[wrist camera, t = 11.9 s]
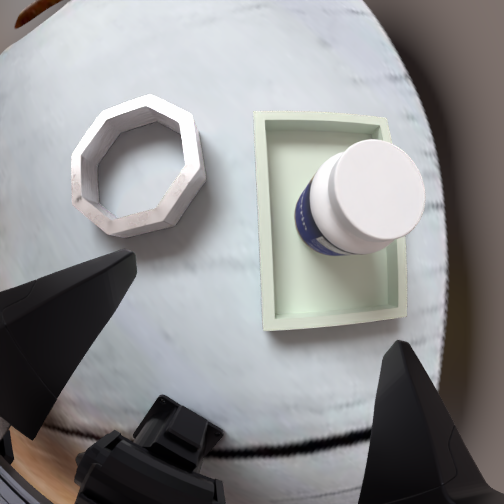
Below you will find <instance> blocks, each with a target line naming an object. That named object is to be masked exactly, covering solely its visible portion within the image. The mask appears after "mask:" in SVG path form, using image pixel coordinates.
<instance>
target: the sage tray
mask: <svg viewBox="0 0 504 504" xmlns="http://www.w3.org/2000/svg"><path fill="white" fill-rule="evenodd" d="M253 127H254V146H255V166H256V187H257V208H258V230H259V253H260V277H261V302H262V325H263V331H276V330H292V329H306V328H318V327H329V326H339V325H348V324H357V323H365V322H373V321H381V320H388V319H395V318H401V317H407V262H406V243H405V236H403V237H401V238H399V239H395V240H394V241H393V242H392V243H391V244H390V245H388V246H387V247H385V248H384V249H382V250H380V251H377V252H374V253H370V254H363V255H343V256H329V255H323V254H320V253H317V252H315V251H313V250H312V249H310V248H309V247H308V246H307V245H306V244H305V243H304V242H303V241H302V240H301V238H300V236H299V235H298V233H297V230H296V227H295V222H294V210H295V206H296V203H297V201H298V199H299V197H300V195H301V194H302V192H303V191H304V189H305V188H306V186H307V185H308V183H309V182H310V180H311V179H312V177H313V176H314V174H315V173H316V171H317V170H318V169H319V168H320V166H321V165H322V164H323V163H324V162H325V161H327V160H328V159H329V158H331V157H332V156H334V155H336V154H338V153H341V152H345V151H346V150H347V149H348V148H349V147H350V146H352V145H353V144H355V143H357V142H360V141H363V140H369V139H376V140H382V141H386V142H389V143H391V144H392V140H391V135H390V131H389V126H388V122H387V118H382V117H375V116H366V115H356V114H345V113H331V112H311V111H253Z"/></svg>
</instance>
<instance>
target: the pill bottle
mask: <svg viewBox="0 0 504 504" xmlns="http://www.w3.org/2000/svg"><path fill="white" fill-rule="evenodd" d="M424 207H425V187H424V183H423V180H422V177H421V174H420V172H419V170H418V168H417V166H416V165H415V163H414V162H413V160H412V159H411V158H410V157H409V156H408V155H407V154H406V153H405V152H404V151H403V150H401V149H400V148H398V147H397V146H395V145H394V144H391V143H389V142H386V141H382V140H376V139H369V140H363V141H360V142H357V143H355V144H353V145H352V146H350V147H349V148H348V149H347V150H346V151H345V152H341V153H338V154H336V155H334V156H332V157H331V158H329V159H328V160H327V161H325V162H324V163H323V164H322V165H321V166H320V168H319V169H318V170H317V171H316V173H315V174H314V176H313V177H312V179H311V180H310V182H309V183H308V185H307V186H306V188H305V189H304V191H303V192H302V194H301V195H300V197H299V199H298V201H297V203H296V206H295V210H294V222H295V227H296V230H297V233H298V235H299V236H300V238H301V240H302V241H303V242H304V243H305V244H306V245H307V246H308V247H309V248H310V249H312V250H313V251H315V252H317V253H320V254H323V255H329V256H343V255H363V254H370V253H374V252H377V251H380V250H382V249H384V248H385V247H387V246H388V245H390V244H391V243H392V242H393V241H394V240H395V239H399V238H401V237H403V236H405V235H407V234H408V233H410V232H411V231H412V230H413V229H414V228H415V226H416V225H417V224H418V222H419V221H420V219H421V217H422V214H423V211H424Z"/></svg>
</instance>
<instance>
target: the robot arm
mask: <svg viewBox="0 0 504 504" xmlns="http://www.w3.org/2000/svg"><path fill="white" fill-rule="evenodd" d="M136 274H137V266H136V255H135V253H134V252H132V251H130V250H127V249H122V250H119V251H116V252H113V253H110V254H107V255H104V256H101V257H98V258H95V259H92V260H89V261H86V262H83V263H80V264H77V265H75V266H72V267H69V268H66V269H63V270H61V271H58V272H55V273H52V274H50V275H47V276H44V277H41V278H39V279H37V280H33V281H31V282H28V283H25V284H23V285H20V286H17V287H14V288H11V289H8V290H5V291H1V292H0V504H53V503H52V502H51V501H49V500H48V499H47V498H46V497H45V496H43V495H42V494H41V493H40V492H39V491H37V490H36V489H35V488H34V487H33V486H32V485H31V484H29V483H28V482H27V481H26V480H25V479H24V478H23V477H22V476H21V475H20V474H19V473H18V472H17V471H16V470H15V469H14V468H13V467H12V466H11V463H12V462H13V460H14V455H13V449H12V443H11V436H10V430H9V428H10V426H11V425H12V426H13V427H14V428H15V429H17V430H18V431H19V432H21V433H22V434H24V435H25V436H26V437H28V438H29V439H31V440H32V441H33V440H34V438H35V437H36V435H37V433H38V431H39V429H40V428H41V426H42V424H43V422H44V420H45V419H46V417H47V415H48V414H49V412H50V410H51V408H52V407H53V405H54V403H55V402H56V400H57V398H58V396H59V395H60V393H61V391H62V390H63V388H64V387H65V385H66V383H67V382H68V380H69V379H70V377H71V375H72V374H73V372H74V371H75V369H76V368H77V366H78V365H79V363H80V362H81V360H82V359H83V357H84V356H85V354H86V353H87V351H88V350H89V348H90V347H91V345H92V344H93V342H94V341H95V339H96V338H97V336H98V335H99V334H100V332H101V331H102V329H103V328H104V326H105V325H106V324H107V322H108V321H109V319H110V318H111V317H112V315H113V314H114V312H115V311H116V309H117V308H118V306H119V304H120V303H121V301H122V299H123V297H124V296H125V294H126V292H127V291H128V289H129V287H130V285H131V284H132V282H133V281H134V279H135V277H136ZM161 399H163V400H164V401H165V402H162V401H161ZM216 432H218V433H220V434H216ZM137 435H138V436H137ZM133 437H134V438H135V440H134V442H132V441H130V440H129V439H127V438H125V437H123V436H122V435H121V433H119V432H118V431H116V430H114V431H112V432H111V433H110V434H107V435H105V436H104V437H103V438H101V439H100V440H99V441H97V442H96V443H94V444H93V445H92V446H90V447H89V448H88V449H87V450H86V452H83V453H79V454H78V455H77V457H76V463H77V466H78V468H77V471H76V475H75V479H74V482H75V483H76V484H77V485H79V486H80V490H79V493H78V496H77V499H76V502H75V504H226V502H225V496H224V490H223V483H222V481H220V480H218V479H215V480H214V479H211V478H209V477H206V476H203V475H201V474H199V472H200V469H201V465H202V461H203V458H204V457H205V456H206V455H207V454H208V452H209V451H210V450H211V449H212V448H213V447H214V446H215V445H216V444H217V443H218V441H219V440H220V439H221V438H222V437H223V430H222V429H220V428H219V427H217V426H215V425H213V424H211V423H210V422H208V421H207V420H206V419H204V418H203V417H201V416H199V415H197V414H196V413H194V412H192V411H191V410H189V409H187V408H186V407H184V406H181V405H179V404H178V403H176V402H175V401H173V400H172V399H170V398H169V397H167V396H165V395H160V396H159V397H158V398H157V400H156V401H155V403H154V404H153V406H152V407H151V409H150V410H149V411H148V413H147V414H146V416H145V417H144V419H143V420H142V422H141V423H140V425H139V426H138V428H137V429H136V431H135V432H134V434H133ZM358 504H504V494H503V493H500V492H498V491H496V490H494V489H493V488H491V487H490V486H489V485H488V484H487V483H486V481H485V480H484V478H483V476H482V474H481V473H480V471H479V469H478V467H477V465H476V464H475V462H474V460H473V458H472V456H471V455H470V453H469V451H468V449H467V447H466V446H465V444H464V442H463V440H462V438H461V436H460V434H459V432H458V430H457V428H456V426H455V425H454V422H453V420H452V418H451V416H450V414H449V412H448V410H447V409H446V407H445V405H444V403H443V401H442V399H441V397H440V396H439V394H438V392H437V390H436V388H435V386H434V385H433V383H432V381H431V379H430V378H429V376H428V374H427V372H426V371H425V369H424V367H423V366H422V364H421V362H420V361H419V359H418V357H417V356H416V354H415V352H414V351H413V349H412V347H411V346H410V344H409V343H408V342H405V341H401V340H397V341H395V343H394V344H393V345H392V346H391V348H390V349H389V350H388V351H387V352H386V354H385V355H384V357H383V360H382V366H381V372H380V377H379V383H378V388H377V393H376V399H375V406H374V416H373V424H372V432H371V439H370V446H369V452H368V458H367V463H366V469H365V474H364V479H363V484H362V488H361V493H360V497H359V501H358Z"/></svg>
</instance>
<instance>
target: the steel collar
mask: <svg viewBox="0 0 504 504" xmlns="http://www.w3.org/2000/svg"><path fill="white" fill-rule="evenodd" d="M156 121H157V122H159V123H161V124H163V125H165V126H167V127H168V128H170V129H172V130H174V131H176V132H178V133H179V134H181V137H182V144H183V151H184V159H185V167H184V168H183V169H182V171H181V172H180V174H179V175H178V176H177V178H176V179H175V181H174V182H173V183H172V185H171V186H170V188H169V189H168V191H167V192H166V194H165V195H164V197H163V198H162V200H161V201H160V202H159V204H158V206H157V207H156V208H155V209H151V210H147V211H143V212H139V213H136V214H132V215H128V216H125V217H121V218H117V217H116V216H115V215H113V214H112V213H111V212H110V211H108V210H107V209H106V208H104V207H103V206H102V205H101V204H99V190H98V170H97V166H98V164H99V163H100V161H101V160H102V158H103V157H104V155H105V154H106V153H107V151H108V150H109V148H110V147H111V145H112V144H113V143H114V141H115V140H116V138H117V137H118V136H119V134H120V133H122V132H125V131H128V130H131V129H134V128H137V127H140V126H143V125H147V124H150V123H153V122H156ZM206 179H207V178H206V172H205V166H204V160H203V154H202V148H201V142H200V135H199V131H198V128H197V126H196V123H195V121H194V119H193V116H192V114H190V113H188V112H186V111H184V110H182V109H180V108H178V107H176V106H174V105H172V104H170V103H168V102H166V101H163V100H161V99H159V98H157V97H155V96H153V95H147V96H144V97H141V98H138V99H135V100H132V101H129V102H126V103H123V104H120V105H118V106H115V107H112V108H110V109H107V110H105V111H103V112H102V113H101V114H100V115H99V117H98V118H97V119H96V121H95V122H94V123H93V125H92V126H91V127H90V129H89V130H88V131H87V133H86V134H85V136H84V137H83V139H82V140H81V141H80V143H79V144H78V146H77V147H76V149H75V150H74V152H73V154H72V159H71V181H72V204H73V206H74V207H75V208H77V209H78V210H79V211H80V212H81V213H82V214H84V215H85V216H86V217H87V218H88V219H90V220H91V221H92V222H93V223H94V224H95V225H97V226H98V227H99V228H100V229H102V230H103V231H104V232H105V233H106V234H108V235H112V236H117V237H122V238H128V237H132V236H136V235H140V234H144V233H149V232H153V231H157V230H161V229H165V228H170V227H174V226H175V225H176V224H177V222H178V221H179V219H180V218H181V216H182V215H183V213H184V212H185V210H186V209H187V207H188V206H189V204H190V203H191V201H192V200H193V198H194V197H195V196H196V194H197V193H198V191H199V190H200V188H201V187H202V186H203V184H204V183H205V181H206Z"/></svg>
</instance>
